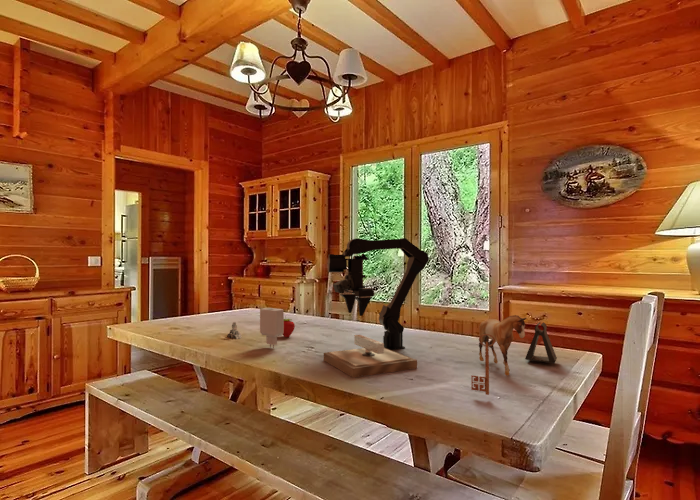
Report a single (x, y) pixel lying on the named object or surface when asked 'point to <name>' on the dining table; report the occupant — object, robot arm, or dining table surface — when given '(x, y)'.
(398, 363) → the brown square tray
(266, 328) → the charger
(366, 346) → the T-key
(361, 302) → the robot arm
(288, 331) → the strawberry
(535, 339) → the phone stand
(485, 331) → the horse figurine
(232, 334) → the grey stone figurine
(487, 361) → the key
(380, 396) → the dining table surface
